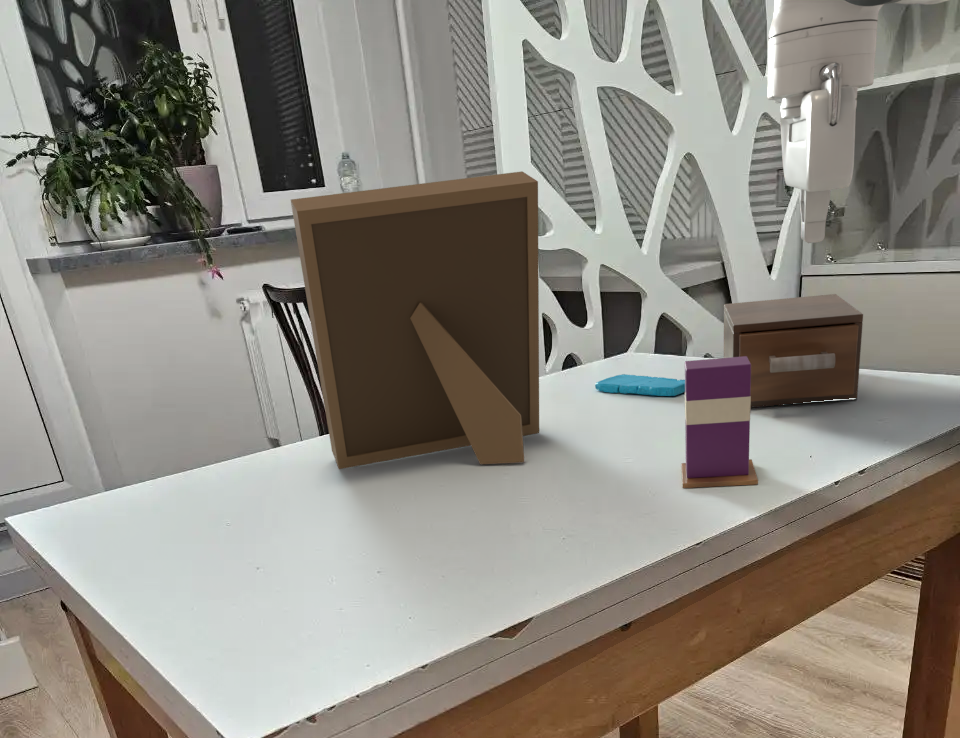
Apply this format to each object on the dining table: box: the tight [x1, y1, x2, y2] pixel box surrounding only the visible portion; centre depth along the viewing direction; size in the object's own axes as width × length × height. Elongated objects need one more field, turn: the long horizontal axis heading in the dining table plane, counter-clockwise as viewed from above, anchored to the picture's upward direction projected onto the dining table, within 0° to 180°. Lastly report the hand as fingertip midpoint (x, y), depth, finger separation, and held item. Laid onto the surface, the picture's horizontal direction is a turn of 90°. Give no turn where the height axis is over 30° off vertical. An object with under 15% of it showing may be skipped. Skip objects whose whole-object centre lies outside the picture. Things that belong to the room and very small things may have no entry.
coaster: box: [680, 458, 759, 489], centre depth 77 cm, size 6×6×1 cm
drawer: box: [739, 324, 858, 401], centre depth 98 cm, size 20×11×7 cm, turn 170°
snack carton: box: [684, 356, 751, 478], centre depth 75 cm, size 5×4×9 cm
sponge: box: [594, 373, 685, 397], centre depth 110 cm, size 2×12×6 cm
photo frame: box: [290, 171, 540, 470], centre depth 87 cm, size 15×22×25 cm
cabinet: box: [723, 293, 864, 408], centre depth 101 cm, size 17×13×9 cm
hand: (812, 241), depth 86 cm, fingers closed
